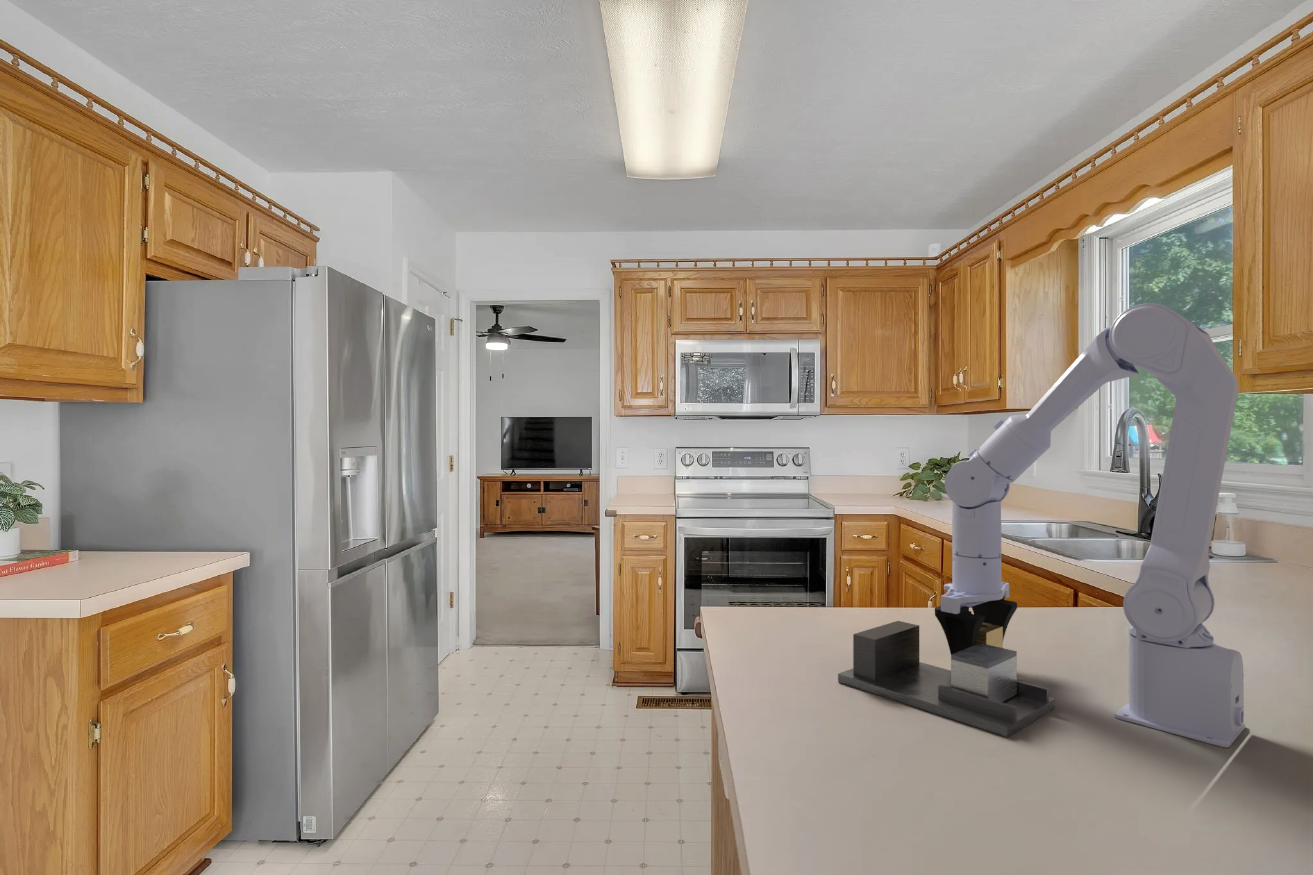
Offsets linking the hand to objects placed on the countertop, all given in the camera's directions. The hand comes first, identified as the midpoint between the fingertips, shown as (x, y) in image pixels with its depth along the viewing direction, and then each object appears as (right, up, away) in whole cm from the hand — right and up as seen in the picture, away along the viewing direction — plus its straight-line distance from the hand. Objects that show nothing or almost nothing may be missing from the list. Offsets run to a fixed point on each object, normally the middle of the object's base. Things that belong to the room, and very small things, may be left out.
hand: (976, 660), depth 86 cm
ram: (-5, 0, -12) cm, 13 cm away
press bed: (-8, -1, -8) cm, 11 cm away
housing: (0, -2, 0) cm, 2 cm away
